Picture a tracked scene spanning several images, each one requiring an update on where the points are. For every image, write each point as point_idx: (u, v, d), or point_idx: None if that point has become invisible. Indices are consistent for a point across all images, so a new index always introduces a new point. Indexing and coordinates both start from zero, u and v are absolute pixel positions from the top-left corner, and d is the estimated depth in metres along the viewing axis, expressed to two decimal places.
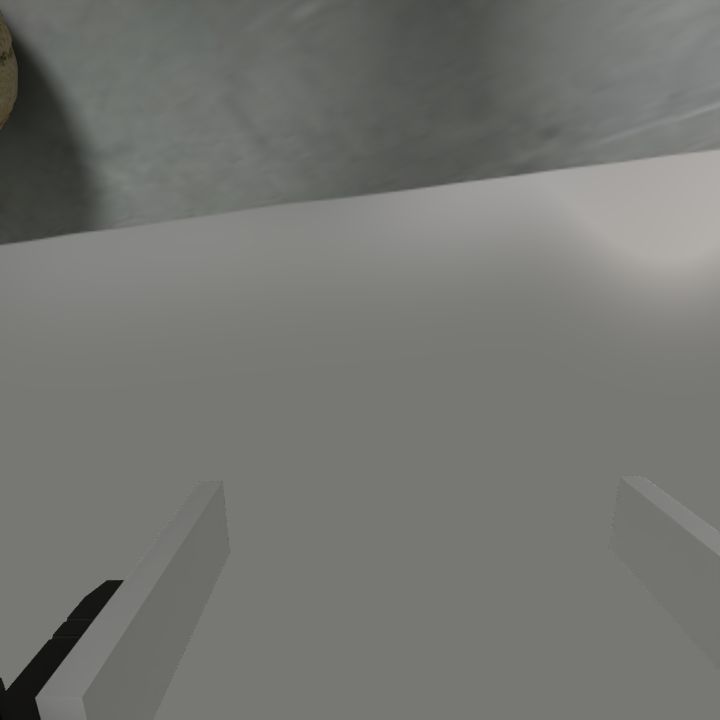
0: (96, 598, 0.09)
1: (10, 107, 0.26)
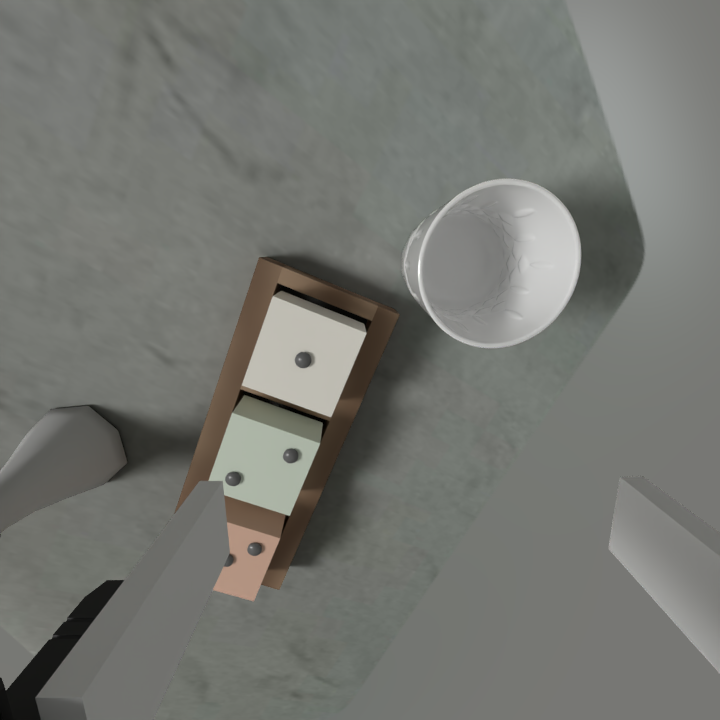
0: (96, 598, 0.09)
1: None
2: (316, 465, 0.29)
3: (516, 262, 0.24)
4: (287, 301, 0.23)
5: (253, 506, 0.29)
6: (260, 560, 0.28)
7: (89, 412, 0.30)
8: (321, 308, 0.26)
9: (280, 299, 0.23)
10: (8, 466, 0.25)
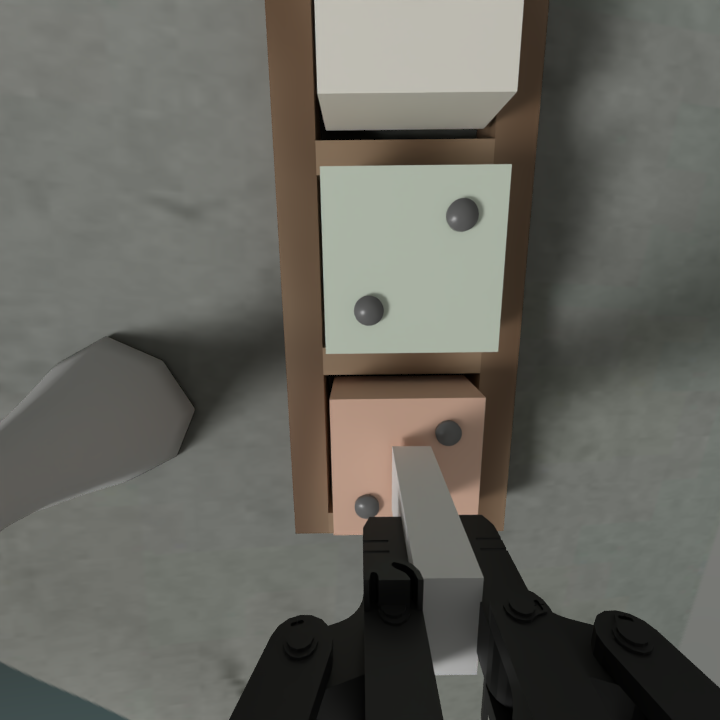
0: (373, 528, 0.11)
1: None
2: None
3: None
4: None
5: (411, 381, 0.17)
6: (464, 452, 0.15)
7: (110, 344, 0.18)
8: None
9: None
10: None
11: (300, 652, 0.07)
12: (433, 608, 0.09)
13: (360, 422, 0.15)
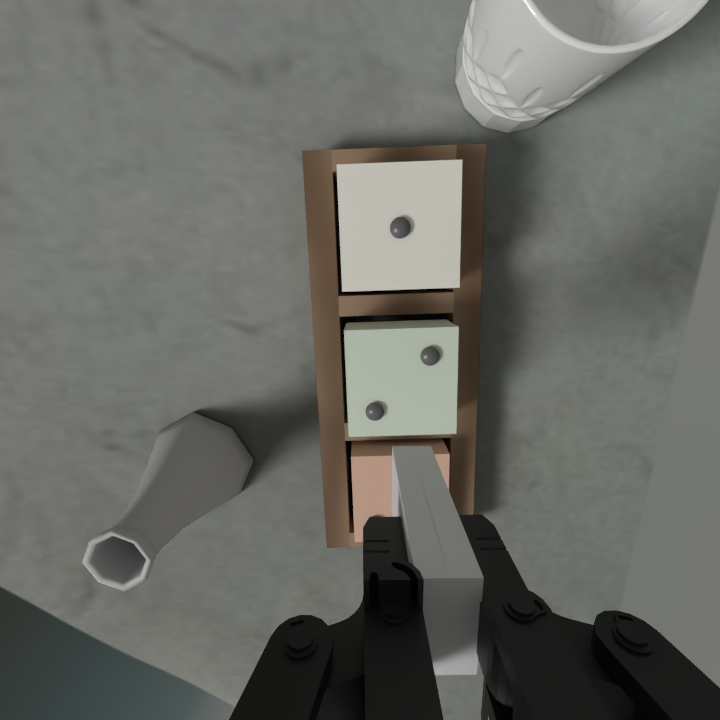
0: (373, 528, 0.11)
1: None
2: (458, 374, 0.24)
3: None
4: None
5: None
6: None
7: (196, 418, 0.27)
8: None
9: (346, 165, 0.18)
10: (139, 488, 0.22)
11: (300, 652, 0.07)
12: (432, 608, 0.09)
13: (370, 470, 0.24)
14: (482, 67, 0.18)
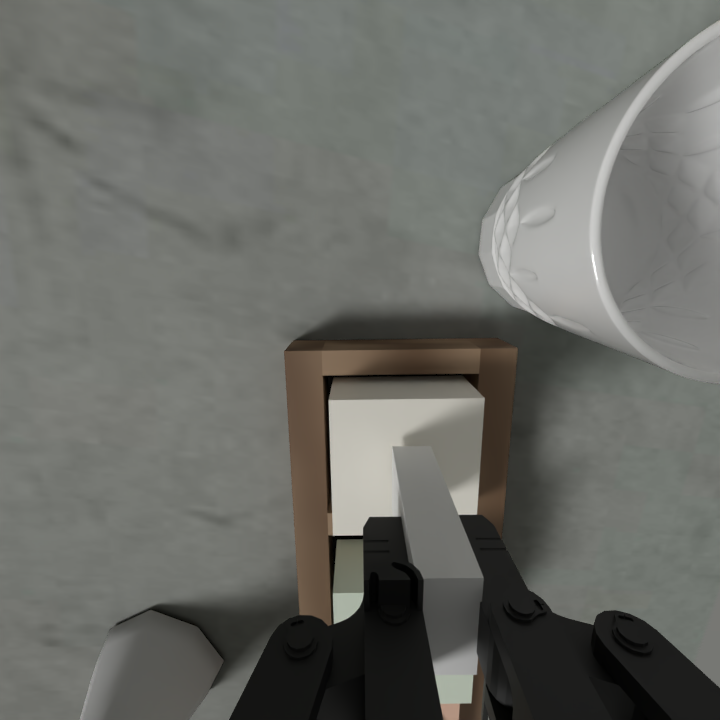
0: (373, 528, 0.11)
1: None
2: None
3: (696, 192, 0.14)
4: (351, 398, 0.15)
5: None
6: None
7: (154, 619, 0.22)
8: (397, 381, 0.17)
9: (341, 400, 0.15)
10: None
11: (300, 652, 0.07)
12: (433, 609, 0.09)
13: None
14: (522, 290, 0.14)
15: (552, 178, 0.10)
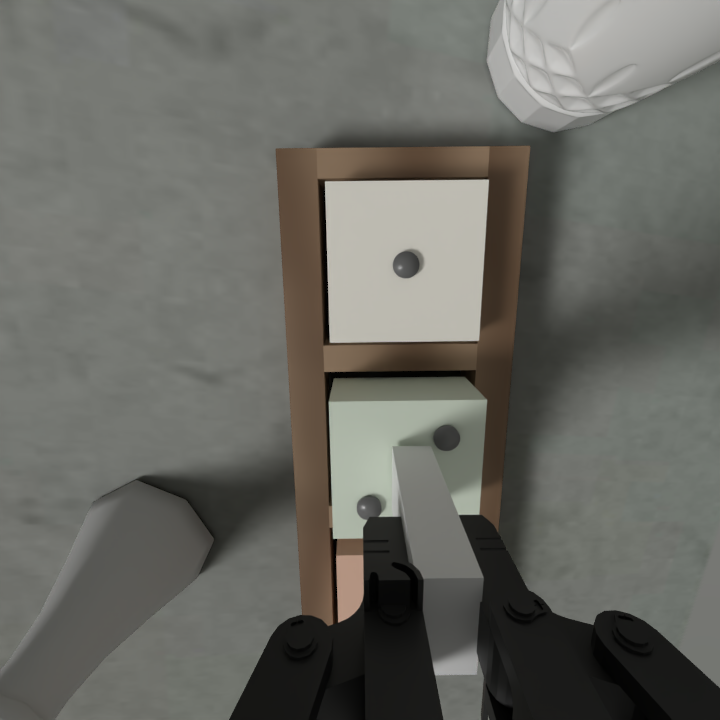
0: (373, 528, 0.11)
1: None
2: None
3: None
4: None
5: None
6: None
7: (140, 489, 0.21)
8: None
9: (338, 182, 0.14)
10: (46, 603, 0.16)
11: (300, 652, 0.07)
12: (432, 608, 0.09)
13: (361, 572, 0.18)
14: (538, 34, 0.12)
15: None
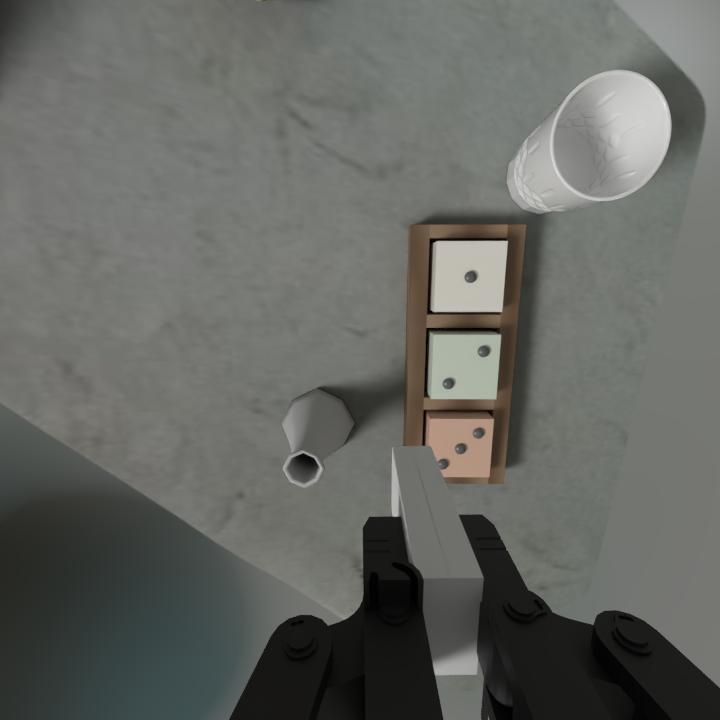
0: (373, 528, 0.11)
1: None
2: (501, 367, 0.37)
3: (606, 144, 0.31)
4: None
5: (460, 410, 0.38)
6: (484, 441, 0.37)
7: (320, 392, 0.39)
8: None
9: (442, 241, 0.33)
10: (297, 432, 0.35)
11: (300, 652, 0.07)
12: (433, 608, 0.09)
13: (441, 428, 0.36)
14: (528, 186, 0.31)
15: (539, 132, 0.28)
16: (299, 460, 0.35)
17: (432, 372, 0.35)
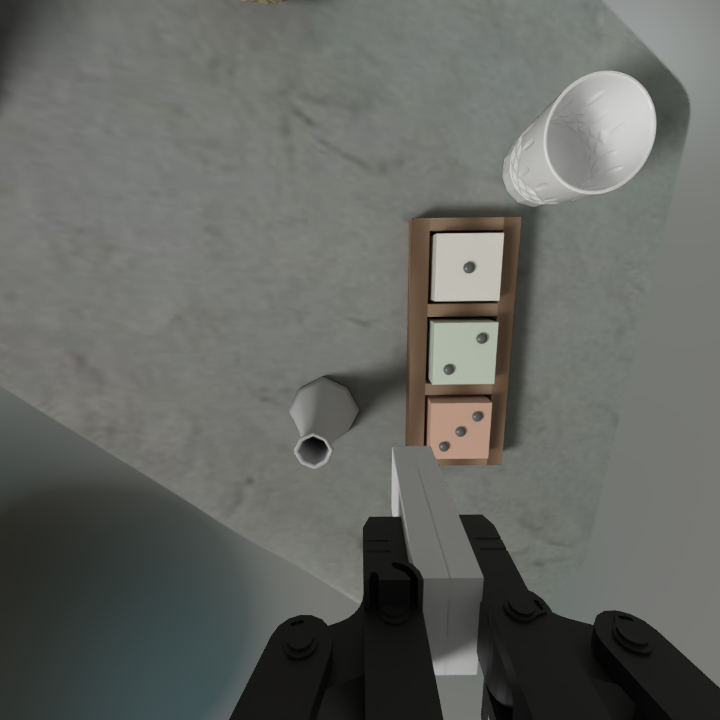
0: (373, 528, 0.11)
1: None
2: (498, 354, 0.38)
3: (596, 140, 0.32)
4: None
5: (460, 395, 0.40)
6: (483, 424, 0.39)
7: (325, 380, 0.41)
8: None
9: None
10: (306, 418, 0.37)
11: (300, 652, 0.07)
12: (432, 608, 0.09)
13: (442, 412, 0.38)
14: (523, 181, 0.33)
15: (533, 129, 0.29)
16: (308, 444, 0.37)
17: (433, 359, 0.37)
